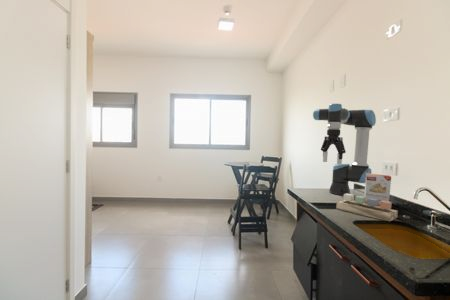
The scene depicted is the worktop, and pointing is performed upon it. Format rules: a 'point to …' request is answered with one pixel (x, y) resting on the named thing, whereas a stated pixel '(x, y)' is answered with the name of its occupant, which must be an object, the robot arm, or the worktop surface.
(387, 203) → the pink small block
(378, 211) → the key console
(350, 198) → the ivory key
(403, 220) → the worktop surface
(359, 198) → the sage key
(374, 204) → the slate key
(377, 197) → the cracker box
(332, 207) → the worktop surface
